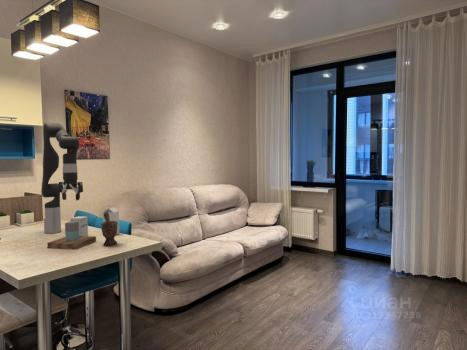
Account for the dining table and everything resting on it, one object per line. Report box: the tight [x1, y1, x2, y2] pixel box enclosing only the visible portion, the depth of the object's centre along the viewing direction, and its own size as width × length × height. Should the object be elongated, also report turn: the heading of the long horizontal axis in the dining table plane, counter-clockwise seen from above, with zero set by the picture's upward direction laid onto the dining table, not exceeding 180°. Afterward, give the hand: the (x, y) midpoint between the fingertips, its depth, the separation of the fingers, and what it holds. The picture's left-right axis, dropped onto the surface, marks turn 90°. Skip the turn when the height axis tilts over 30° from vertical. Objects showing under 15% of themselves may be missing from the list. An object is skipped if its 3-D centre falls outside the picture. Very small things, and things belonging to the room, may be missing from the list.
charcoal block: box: [64, 221, 79, 232], centre depth 190 cm, size 5×5×5 cm
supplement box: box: [69, 215, 89, 236], centre depth 210 cm, size 7×7×13 cm
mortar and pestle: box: [100, 211, 118, 247], centre depth 187 cm, size 12×9×20 cm
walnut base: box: [46, 235, 97, 250], centre depth 191 cm, size 18×18×3 cm
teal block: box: [64, 230, 79, 241], centre depth 190 cm, size 5×5×5 cm
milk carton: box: [102, 204, 120, 236], centre depth 215 cm, size 7×7×19 cm
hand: (71, 199), depth 189 cm, fingers open, 8 cm apart
